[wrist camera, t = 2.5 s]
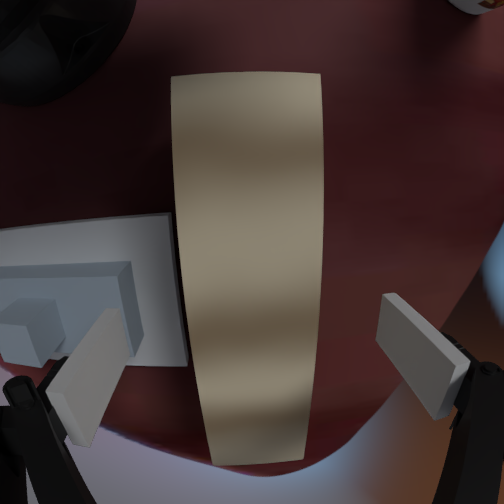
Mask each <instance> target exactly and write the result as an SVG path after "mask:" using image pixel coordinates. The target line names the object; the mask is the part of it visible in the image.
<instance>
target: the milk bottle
mask: <svg viewBox="0 0 504 504" xmlns="http://www.w3.org/2000/svg"><path fill="white" fill-rule="evenodd" d="M448 1H449V2H450V3H451V4H453V5H454V6H455V7H457V8H458V9H460V10H461V11H464V12H466V13H469V14H475V15H478V14H482V13H485V12H487V11H490V10H492V9H495V8H497V7H500V6H503V5H504V0H448Z"/></svg>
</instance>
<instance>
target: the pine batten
mask: <svg viewBox="0 0 504 504" xmlns="http://www.w3.org/2000/svg"><path fill="white" fill-rule="evenodd" d="M171 122H172V152H173V173H174V190H175V205H176V218H177V230H178V241H179V252H180V262H181V272H182V281H183V289H184V298H185V306H186V314H187V321H188V329H189V336H190V343H191V349H192V356H193V362H194V368H195V375H196V381H197V386H198V392H199V398H200V403H201V409H202V414H203V419H204V424H205V429H206V434H207V439H208V444H209V449H210V453H211V458H212V463H213V465H246V464H261V463H273V462H283V461H292V460H300V459H303V457H304V450H305V444H306V437H307V429H308V422H309V414H310V406H311V397H312V388H313V379H314V369H315V359H316V347H317V335H318V322H319V308H320V291H321V272H322V247H323V200H324V166H323V120H322V96H321V78H320V74H312V73H294V72H224V73H207V74H193V75H182V76H173V77H171Z"/></svg>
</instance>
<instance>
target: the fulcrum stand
mask: <svg viewBox="0 0 504 504" xmlns="http://www.w3.org/2000/svg"><path fill="white" fill-rule="evenodd" d="M106 308H120V313H121V318H122V322H123V327H124V331H125V335H126V340H127V344H128V348H129V352H130V357H129V359H128V361H127V363H126V365H134V366H187V365H188V359H189V356H188V350H187V344H186V337H185V331H184V324H183V316H182V309H181V302H180V294H179V286H178V277H177V268H176V259H175V249H174V239H173V228H172V216H171V212H169V213H154V214H140V215H128V216H116V217H104V218H93V219H83V220H73V221H63V222H54V223H45V224H36V225H27V226H19V227H11V228H4V229H0V353H1V355H2V358H3V360H4V362H9V363H15V364H21V365H27V366H33V367H39V368H42V367H43V366H44V364H45V363H46V362H47V360H48V359H55V360H60V359H61V358H62V357H64V356H70V355H71V354H72V352H73V351H74V350H75V348H76V347H77V345H78V344H79V343H80V341H81V340H82V339H83V337H84V336H85V335H86V333H87V332H88V331H89V329H90V328H91V327H92V326H93V324H94V323H95V322H96V320H97V319H98V318H99V316H100V315H101V314H102V313H103V311H104V310H105V309H106Z"/></svg>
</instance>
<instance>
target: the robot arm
mask: <svg viewBox="0 0 504 504" xmlns="http://www.w3.org/2000/svg"><path fill="white" fill-rule="evenodd" d="M135 5H136V0H0V102H1V103H5V104H10V105H16V106H36V105H40V104H44V103H47V102H50V101H52V100H55V99H57V98H59V97H61V96H63V95H64V94H66V93H68V92H69V91H71V90H72V89H74V88H75V87H77V86H78V85H79V84H81V83H82V82H83V81H84V80H86V79H87V78H88V77H89V76H90V75H91V74H92V73H93V72H94V71H95V70H96V69H97V68H98V67H99V66H100V65H101V64H102V63H103V62H104V61H105V60H106V59H107V57H108V56H109V55H110V54H111V52H112V51H113V50H114V48H115V47H116V46H117V44H118V43H119V41H120V40H121V38H122V36H123V35H124V33H125V31H126V29H127V27H128V25H129V23H130V21H131V18H132V15H133V12H134V9H135ZM376 342H377V343H378V344H379V345H380V347H381V348H382V349H383V351H384V352H385V353H386V355H387V356H388V357H389V359H390V360H391V361H392V363H393V364H394V366H395V367H396V368H397V370H398V371H399V372H400V374H401V375H402V376H403V378H404V379H405V380H406V382H407V383H408V385H409V386H410V387H411V389H412V390H413V391H414V393H415V394H416V395H417V397H418V398H419V400H420V401H421V402H422V404H423V405H424V407H425V408H426V410H427V411H428V412H429V414H430V415H431V417H432V418H433V420H437V419H441V418H444V417H446V416H449V414H450V412H451V410H452V407H453V405H455V407H456V408H457V409H458V411H457V414H456V416H455V418H454V420H453V422H452V424H451V426H450V428H449V429H452V427H453V430H452V435H451V439H450V444H449V448H448V452H447V456H446V460H445V463H444V467H443V471H442V474H441V477H440V481H439V484H438V487H437V490H436V493H435V496H434V499H433V502H432V504H497V500H498V495H499V488H500V481H501V472H502V464H503V461H504V370H502V369H501V368H500V367H499V366H498V365H496V364H495V363H492V362H479V361H478V360H477V359H475V357H473V356H472V355H471V354H470V353H469V352H468V351H467V350H466V349H465V348H463V346H461V345H460V344H458V342H457V341H456V340H455V339H454V338H453V337H452V336H449V335H447V334H445V333H443V332H441V333H440V332H439V331H438V330H437V329H435V328H434V327H433V326H432V325H431V324H430V323H429V322H428V321H427V320H425V319H424V318H423V317H422V316H421V315H420V314H419V313H418V312H416V311H415V310H414V309H413V308H412V307H411V306H410V305H409V304H407V303H406V302H405V301H404V300H403V299H402V298H401V297H399V296H398V295H397V294H396V293H389V294H382V302H381V309H380V316H379V322H378V329H377V335H376ZM129 357H130V352H129V348H128V344H127V340H126V335H125V331H124V327H123V322H122V318H121V313H120V308H106V309H105V310H104V311H103V313H102V314H101V315H100V316H99V318H98V319H97V320H96V322H95V323H94V324H93V326H92V327H91V328H90V329H89V331H88V332H87V333H86V335H85V336H84V337H83V339H82V340H81V341H80V343H79V344H78V345H77V347H76V348H75V350H74V351H73V352H72V354H71V355H70V356H64V357H62V358H61V359H60V360H58V361H57V362H56V363H55V364H54V365H53V367H52V368H51V371H49V372H48V373H47V376H45V378H44V379H43V380H42V382H41V383H40V384H39V386H38V387H37V389H36V387H35V385H34V383H33V381H32V379H31V378H30V377H28V376H22V375H21V376H16V377H14V378H11V379H10V380H8V381H7V382H6V383H5V385H4V386H3V393H4V395H5V397H6V399H7V400H8V402H9V404H10V406H0V504H28V501H27V486H26V468H27V472H28V475H29V478H30V481H31V484H32V487H33V490H34V492H35V495H36V497H37V500H38V503H39V504H97V503H96V502H95V500H94V498H93V496H92V495H91V493H90V491H89V490H88V488H87V486H86V484H85V482H84V480H83V478H82V476H81V475H80V473H79V471H78V469H77V467H76V465H75V462H74V460H73V458H72V456H71V454H70V452H69V450H68V448H67V446H66V444H65V442H64V440H65V438H66V436H67V435H68V436H69V438H70V440H71V441H72V443H73V444H74V445H79V446H84V447H90V446H91V443H92V441H93V438H94V436H95V434H96V431H97V429H98V426H99V424H100V422H101V419H102V417H103V415H104V412H105V410H106V408H107V405H108V403H109V401H110V398H111V396H112V394H113V392H114V389H115V387H116V385H117V383H118V380H119V378H120V376H121V374H122V372H123V369H124V367H125V365H126V363H127V361H128V359H129Z"/></svg>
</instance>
